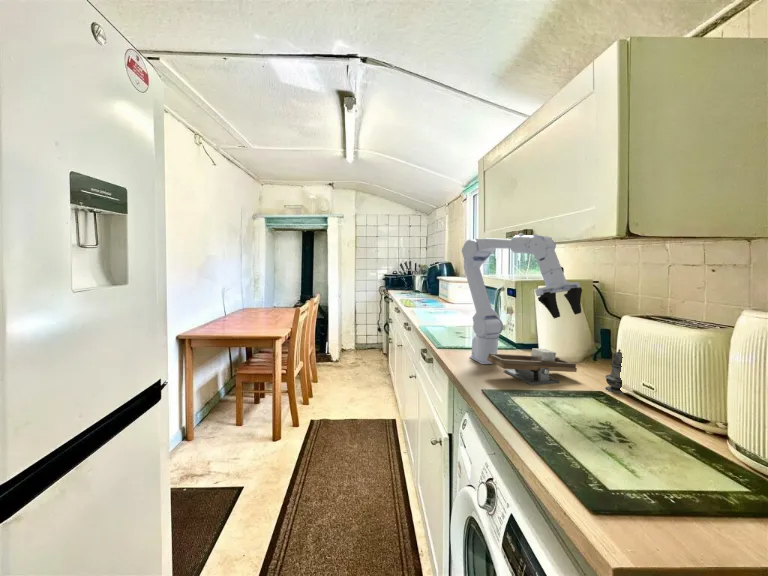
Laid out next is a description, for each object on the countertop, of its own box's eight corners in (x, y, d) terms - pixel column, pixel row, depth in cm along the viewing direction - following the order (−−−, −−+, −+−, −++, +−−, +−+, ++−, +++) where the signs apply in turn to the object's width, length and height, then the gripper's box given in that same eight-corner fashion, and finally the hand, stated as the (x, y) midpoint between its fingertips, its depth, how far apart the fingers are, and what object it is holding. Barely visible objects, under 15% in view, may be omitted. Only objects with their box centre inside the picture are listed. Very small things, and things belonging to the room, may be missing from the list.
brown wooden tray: (487, 360, 114) (488, 352, 114) (555, 363, 121) (556, 356, 121) (503, 368, 105) (505, 360, 105) (576, 372, 112) (577, 364, 112)
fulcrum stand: (503, 371, 118) (504, 358, 118) (529, 369, 121) (530, 356, 121) (531, 385, 105) (532, 370, 105) (560, 383, 108) (561, 369, 108)
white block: (530, 360, 116) (532, 348, 115) (543, 361, 117) (545, 349, 117) (540, 364, 111) (542, 351, 111) (554, 365, 112) (556, 352, 112)
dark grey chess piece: (632, 395, 100) (636, 352, 99) (608, 393, 101) (612, 350, 100) (622, 388, 106) (626, 347, 105) (600, 386, 107) (604, 345, 106)
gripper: (540, 270, 104) (556, 315, 100) (580, 264, 108) (597, 308, 104) (525, 278, 110) (540, 322, 107) (564, 273, 114) (580, 314, 111)
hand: (567, 315), depth 106 cm, fingers open, 7 cm apart
